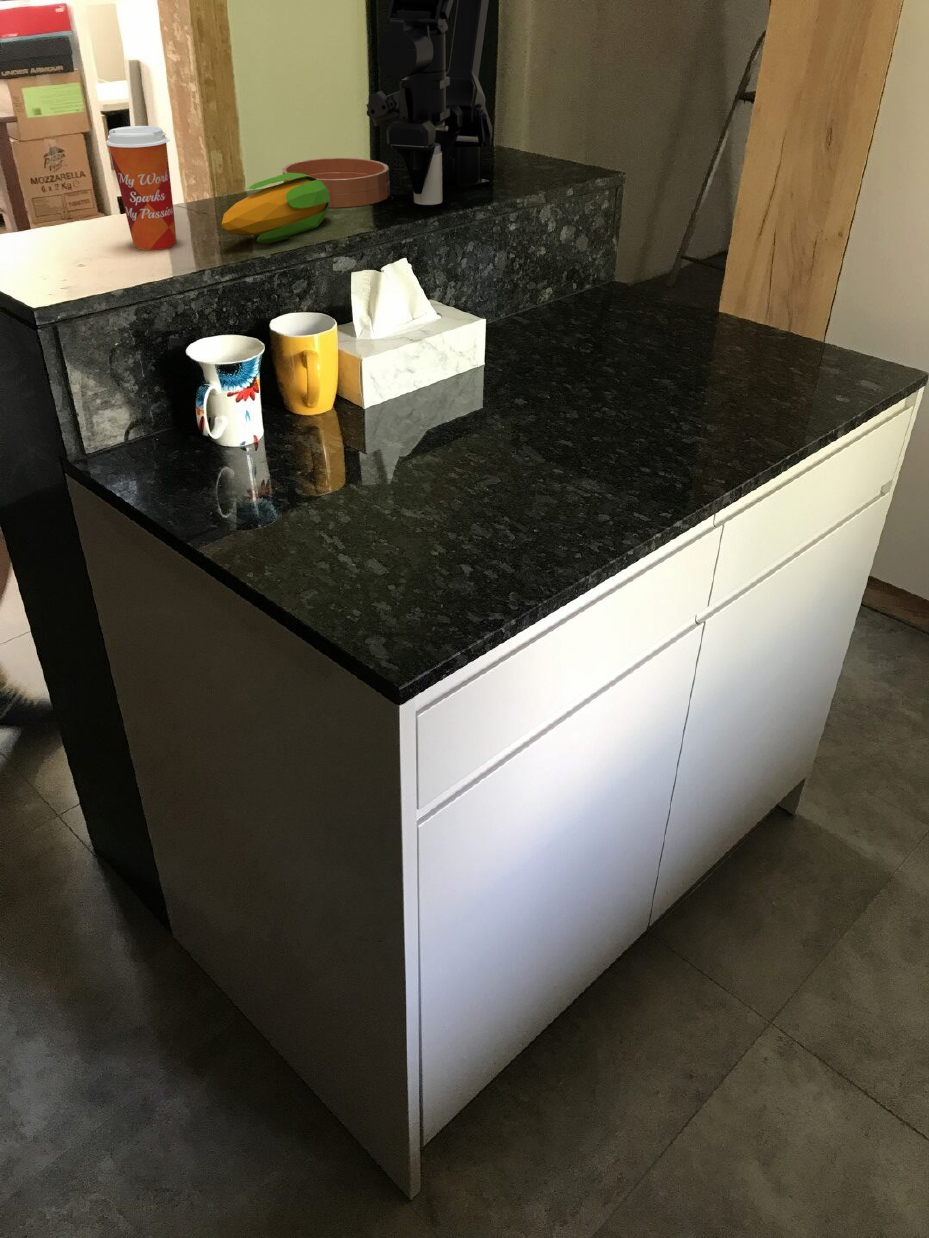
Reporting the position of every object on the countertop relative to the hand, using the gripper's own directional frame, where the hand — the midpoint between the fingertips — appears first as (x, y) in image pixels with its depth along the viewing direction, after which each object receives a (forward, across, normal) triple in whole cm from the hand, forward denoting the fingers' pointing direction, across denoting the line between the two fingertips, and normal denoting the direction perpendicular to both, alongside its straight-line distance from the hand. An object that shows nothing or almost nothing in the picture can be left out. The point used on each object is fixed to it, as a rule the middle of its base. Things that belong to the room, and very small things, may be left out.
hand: (427, 187), depth 151 cm
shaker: (+3, 0, 0) cm, 3 cm away
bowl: (+3, 0, -15) cm, 15 cm away
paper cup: (+3, +32, -28) cm, 43 cm away
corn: (+3, +23, -14) cm, 27 cm away
